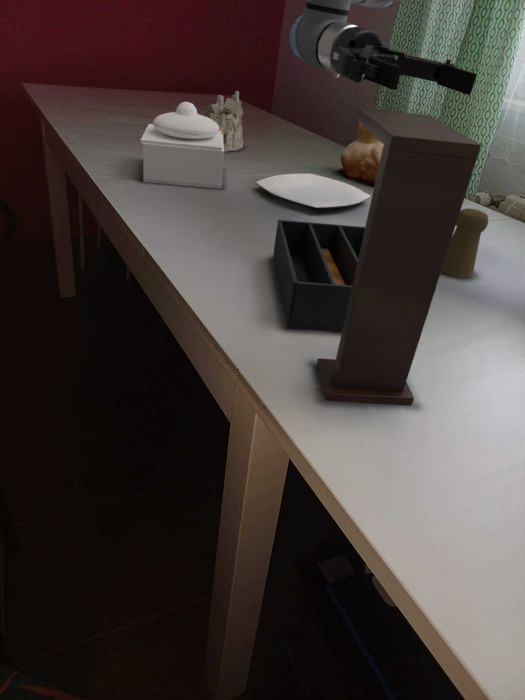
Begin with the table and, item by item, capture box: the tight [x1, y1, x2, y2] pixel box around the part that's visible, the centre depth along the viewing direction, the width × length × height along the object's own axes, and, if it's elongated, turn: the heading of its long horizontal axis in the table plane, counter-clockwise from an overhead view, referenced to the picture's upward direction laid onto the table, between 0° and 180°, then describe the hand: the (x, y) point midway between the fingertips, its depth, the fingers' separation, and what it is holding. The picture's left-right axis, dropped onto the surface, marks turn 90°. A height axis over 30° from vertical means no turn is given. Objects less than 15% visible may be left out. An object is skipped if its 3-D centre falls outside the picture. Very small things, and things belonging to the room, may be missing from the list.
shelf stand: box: [316, 106, 482, 405], centre depth 59 cm, size 15×10×28 cm, turn 3°
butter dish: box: [140, 101, 226, 190], centre depth 123 cm, size 18×18×16 cm
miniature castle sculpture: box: [202, 90, 244, 153], centre depth 153 cm, size 16×16×15 cm
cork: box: [441, 208, 489, 279], centre depth 93 cm, size 6×6×11 cm
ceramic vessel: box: [340, 123, 384, 187], centre depth 138 cm, size 14×26×15 cm, turn 48°
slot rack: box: [272, 219, 365, 333], centre depth 81 cm, size 23×16×7 cm, turn 3°
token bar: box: [322, 249, 345, 285], centre depth 82 cm, size 20×2×2 cm, turn 5°
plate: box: [255, 173, 371, 211], centre depth 123 cm, size 23×23×2 cm
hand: (436, 81), depth 74 cm, fingers open, 13 cm apart
